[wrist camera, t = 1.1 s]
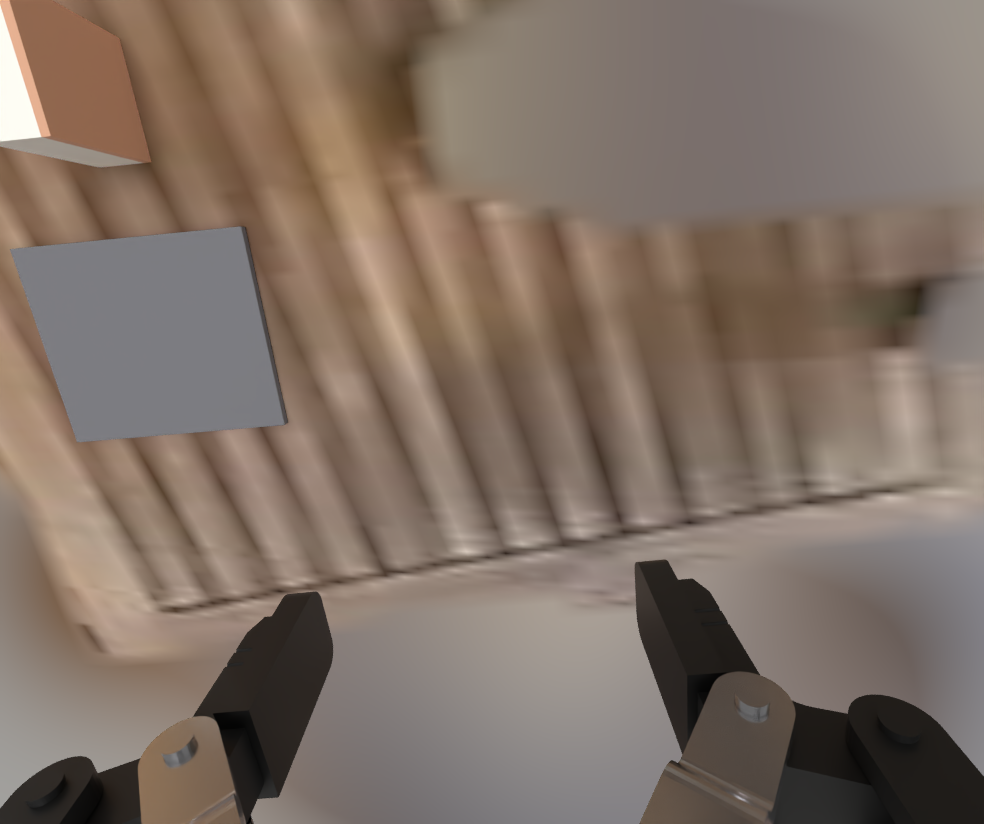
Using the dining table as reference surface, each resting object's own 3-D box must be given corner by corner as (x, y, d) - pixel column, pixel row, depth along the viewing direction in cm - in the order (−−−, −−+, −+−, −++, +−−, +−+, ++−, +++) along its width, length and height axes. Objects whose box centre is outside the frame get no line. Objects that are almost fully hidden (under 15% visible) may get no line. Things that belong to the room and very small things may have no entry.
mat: (17, 249, 36) (10, 249, 35) (245, 226, 35) (240, 226, 34) (83, 439, 40) (77, 442, 39) (287, 422, 39) (284, 424, 39)
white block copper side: (64, 44, 32) (-72, -21, 24) (119, 38, 32) (0, -30, 24) (99, 167, 34) (-16, 142, 26) (151, 162, 34) (50, 136, 26)
